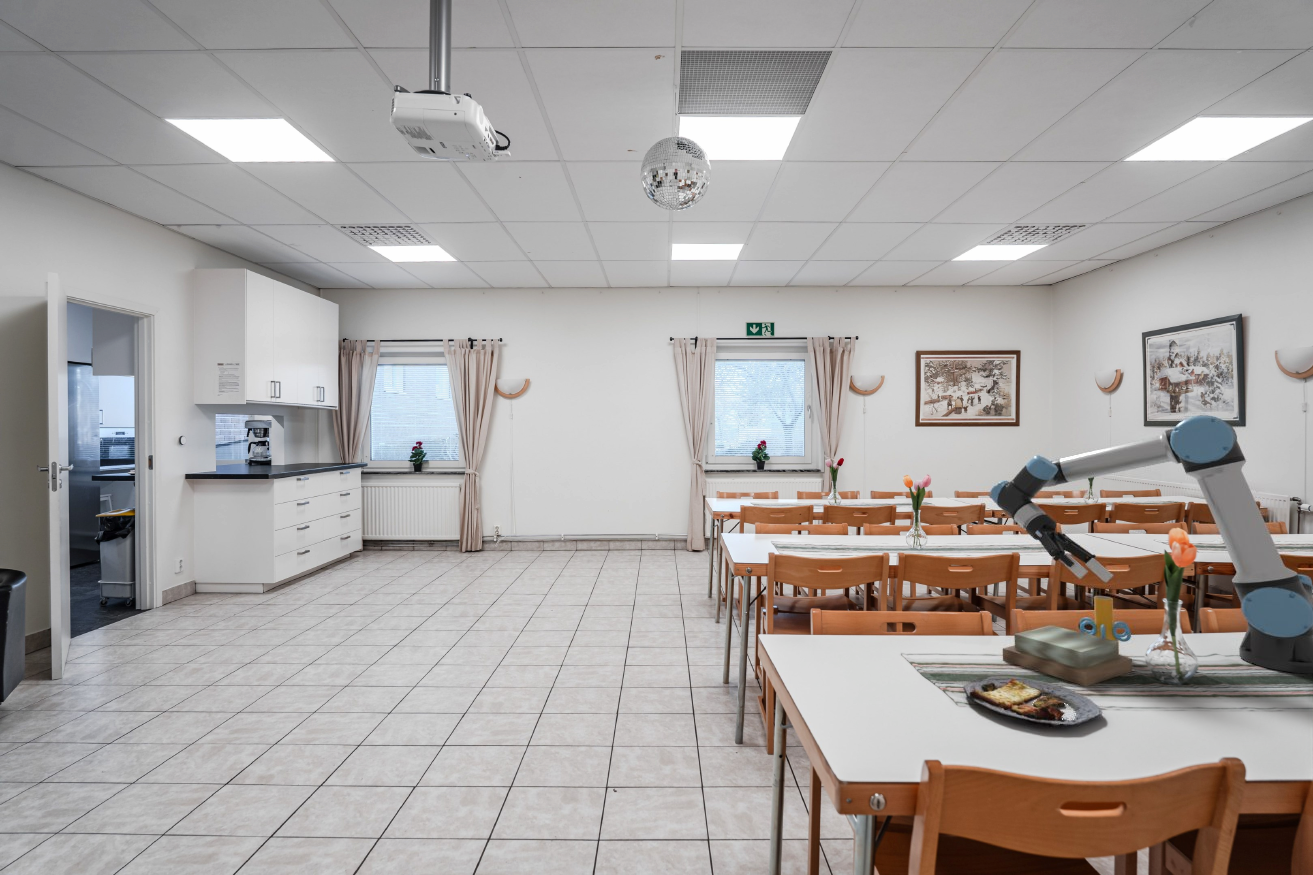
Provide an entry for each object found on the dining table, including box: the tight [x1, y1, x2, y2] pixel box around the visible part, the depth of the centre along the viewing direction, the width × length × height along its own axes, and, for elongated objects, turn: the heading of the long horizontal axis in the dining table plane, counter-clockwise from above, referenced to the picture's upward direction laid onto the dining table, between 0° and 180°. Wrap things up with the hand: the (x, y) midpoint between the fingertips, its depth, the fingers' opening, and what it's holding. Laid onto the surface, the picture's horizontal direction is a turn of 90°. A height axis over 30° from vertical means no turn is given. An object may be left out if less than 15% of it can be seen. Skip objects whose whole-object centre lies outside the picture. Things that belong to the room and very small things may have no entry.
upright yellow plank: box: [1079, 595, 1132, 656], centre depth 160 cm, size 12×10×15 cm
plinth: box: [1002, 624, 1133, 687], centre depth 152 cm, size 20×20×7 cm
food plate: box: [963, 675, 1103, 727], centre depth 128 cm, size 25×23×4 cm
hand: (1096, 577), depth 161 cm, fingers open, 13 cm apart
